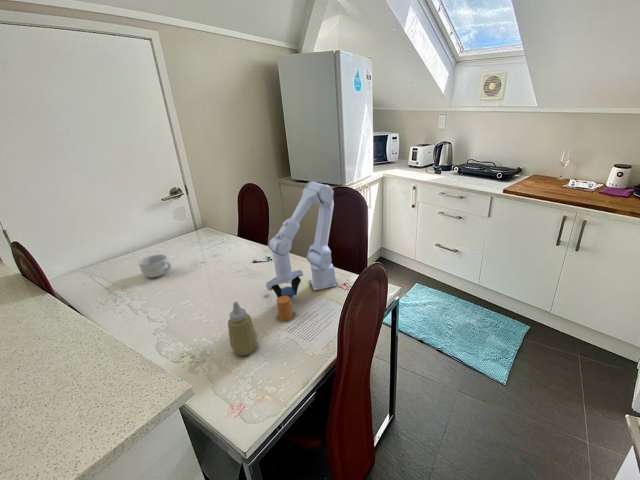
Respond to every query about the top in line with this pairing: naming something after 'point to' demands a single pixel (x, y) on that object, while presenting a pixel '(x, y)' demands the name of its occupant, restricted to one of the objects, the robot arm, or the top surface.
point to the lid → (287, 292)
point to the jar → (284, 308)
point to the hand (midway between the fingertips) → (287, 297)
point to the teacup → (154, 265)
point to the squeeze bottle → (241, 331)
